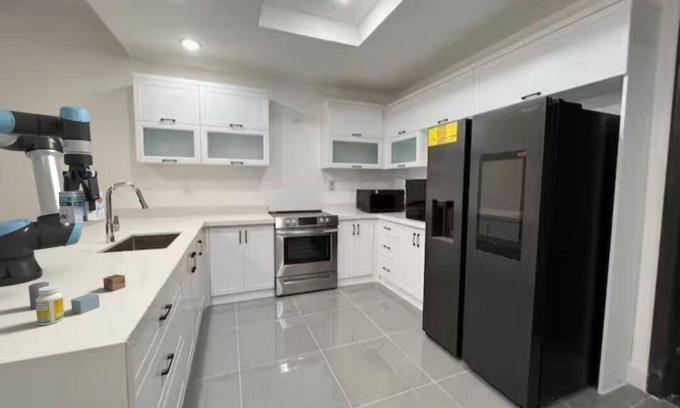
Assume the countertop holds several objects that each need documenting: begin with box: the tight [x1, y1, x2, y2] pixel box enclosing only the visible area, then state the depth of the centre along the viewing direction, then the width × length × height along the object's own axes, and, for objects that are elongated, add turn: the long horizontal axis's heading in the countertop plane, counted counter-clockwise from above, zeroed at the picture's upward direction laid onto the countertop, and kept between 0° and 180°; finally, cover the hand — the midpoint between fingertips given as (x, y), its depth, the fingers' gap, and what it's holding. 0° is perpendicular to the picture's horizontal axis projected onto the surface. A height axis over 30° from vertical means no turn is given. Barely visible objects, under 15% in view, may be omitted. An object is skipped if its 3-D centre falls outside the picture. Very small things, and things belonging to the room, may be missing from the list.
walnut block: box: [102, 274, 126, 292], centre depth 106 cm, size 4×4×4 cm
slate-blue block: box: [70, 292, 101, 315], centre depth 89 cm, size 4×5×4 cm
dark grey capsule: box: [28, 281, 50, 311], centre depth 92 cm, size 4×4×7 cm
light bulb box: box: [58, 189, 106, 224], centre depth 104 cm, size 11×7×11 cm, turn 168°
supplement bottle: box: [35, 284, 65, 326], centre depth 82 cm, size 5×5×10 cm
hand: (83, 219), depth 105 cm, fingers closed on light bulb box, 7 cm apart
